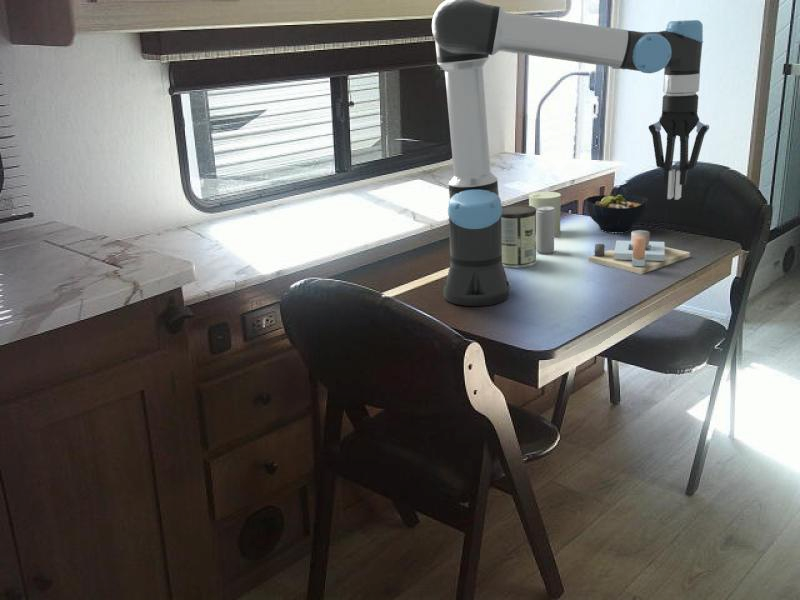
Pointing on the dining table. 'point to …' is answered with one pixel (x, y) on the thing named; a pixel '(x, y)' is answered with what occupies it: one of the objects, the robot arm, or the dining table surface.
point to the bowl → (616, 211)
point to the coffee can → (518, 236)
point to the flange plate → (649, 254)
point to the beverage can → (545, 229)
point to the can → (548, 200)
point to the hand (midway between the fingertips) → (674, 198)
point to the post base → (609, 260)
